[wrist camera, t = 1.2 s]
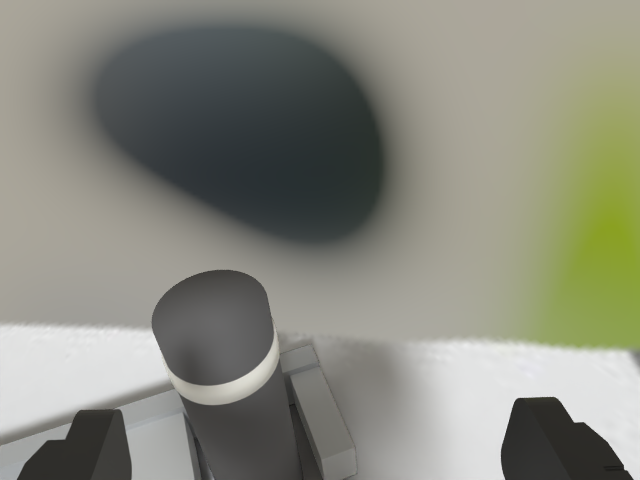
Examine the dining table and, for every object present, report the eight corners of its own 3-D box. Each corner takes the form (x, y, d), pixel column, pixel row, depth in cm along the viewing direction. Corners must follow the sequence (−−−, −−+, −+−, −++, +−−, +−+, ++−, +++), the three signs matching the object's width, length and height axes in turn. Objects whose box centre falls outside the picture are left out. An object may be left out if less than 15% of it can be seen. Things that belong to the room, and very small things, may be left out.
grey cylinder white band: (290, 433, 34) (254, 256, 24) (316, 508, 30) (285, 333, 21) (213, 461, 33) (144, 287, 23) (230, 542, 29) (155, 375, 20)
